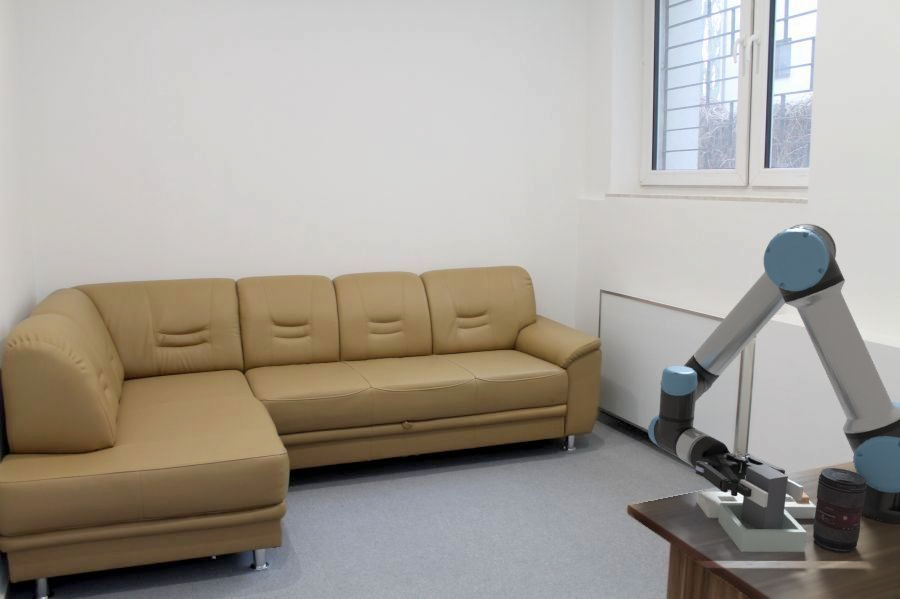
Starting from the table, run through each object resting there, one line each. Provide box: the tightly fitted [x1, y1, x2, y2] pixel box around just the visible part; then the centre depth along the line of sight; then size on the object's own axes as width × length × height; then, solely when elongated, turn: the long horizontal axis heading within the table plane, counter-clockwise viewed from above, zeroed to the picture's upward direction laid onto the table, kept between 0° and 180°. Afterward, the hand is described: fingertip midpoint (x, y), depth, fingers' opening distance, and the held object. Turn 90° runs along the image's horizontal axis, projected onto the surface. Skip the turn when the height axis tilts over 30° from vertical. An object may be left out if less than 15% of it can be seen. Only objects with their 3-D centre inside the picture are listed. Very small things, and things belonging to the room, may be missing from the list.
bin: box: [717, 503, 808, 553], centre depth 153 cm, size 12×12×5 cm
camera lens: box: [812, 467, 867, 554], centre depth 149 cm, size 8×8×15 cm
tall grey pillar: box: [741, 464, 789, 529], centre depth 152 cm, size 4×6×13 cm
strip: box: [696, 491, 816, 520], centre depth 164 cm, size 22×7×4 cm, turn 91°
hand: (783, 496), depth 147 cm, fingers open, 8 cm apart
